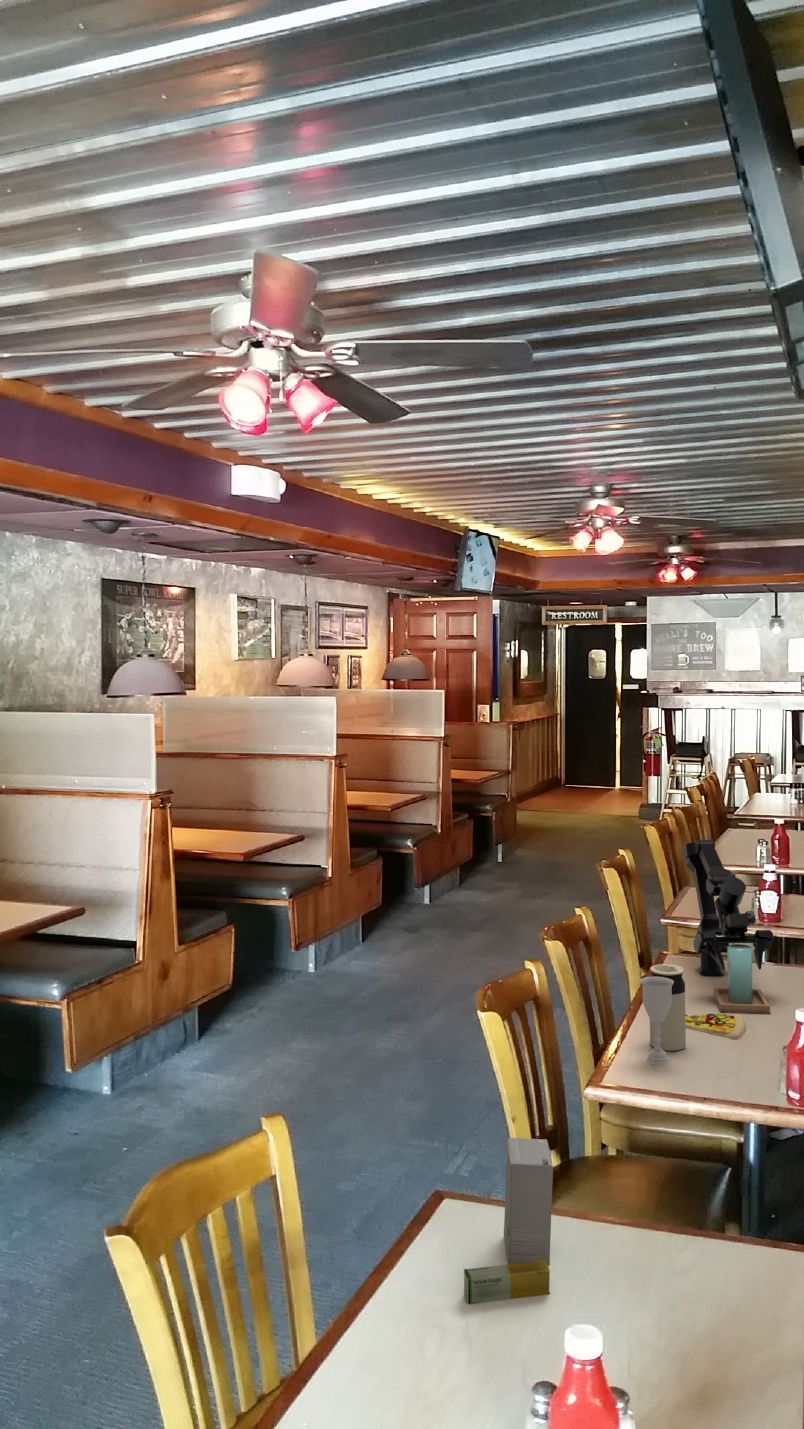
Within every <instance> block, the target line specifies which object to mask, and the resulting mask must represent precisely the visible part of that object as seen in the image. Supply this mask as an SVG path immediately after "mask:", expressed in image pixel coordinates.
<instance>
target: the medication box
mask: <svg viewBox="0 0 804 1429" xmlns="http://www.w3.org/2000/svg"><path fill="white" fill-rule="evenodd" d="M550 1294H551V1292H550V1268H549V1265H547V1264H546V1262H545V1261H544V1260H542V1261H533V1262H524V1263H515V1264H508V1263H507V1264H499V1265H490V1266H481V1267H474V1268H473V1267H472V1268H471V1267H470V1268H463V1296H464V1302H466V1304H467V1305H468V1306H470V1305H475V1304H477V1305H478V1304H484V1303H485V1304H486V1303H492V1302H501V1301H508V1300H516V1299H524V1298H531V1297H539V1296H547V1295H548V1296H549V1295H550Z"/></svg>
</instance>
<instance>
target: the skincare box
mask: <svg viewBox="0 0 804 1429" xmlns="http://www.w3.org/2000/svg"><path fill="white" fill-rule="evenodd" d="M506 1140H507V1141H506V1144H507V1145H506V1167H505V1168H506V1169H505V1194H504V1195H505V1196H504V1197H505V1198H504V1218H503V1219H504V1221H503V1223H504V1224H503V1244H504V1250H505V1251H504V1252H505V1257H506V1262H507V1264H515V1263H524V1262H533V1261H542V1260H544V1261H545V1262H546V1264H547V1266H550V1264H551V1263H550V1261H551V1257H550V1256H551V1233H552V1232H551V1231H552V1230H551V1229H552V1204H553V1182H554V1181H553V1180H554V1179H553V1178H554V1165H553V1161H552V1157H551V1155H552V1151H551V1149H550V1146H549V1143H548V1142H549V1141H548V1140H547V1139H546V1138H544V1139H543V1138H542V1139H540V1138H524V1137H523V1138H522V1137H521V1138H520V1137H509V1138H507V1139H506Z"/></svg>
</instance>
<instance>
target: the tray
mask: <svg viewBox="0 0 804 1429" xmlns="http://www.w3.org/2000/svg"><path fill="white" fill-rule="evenodd" d="M712 991H713V992H712V995H713V998H714V1001H715V1003H716V1005H718V1006H717V1008H718V1010H719V1012H720V1014H721V1013H722V1014H723V1013H724V1014H755V1015H758V1014H759V1015H770V1014H771V1005H770V1004H769V1001H768V1000H767V999H766V998H767V997H766V996H765V995H764V993H763V991H762V990H761V989H760V988H753V1003H751V1004H733V1003H730V1002H729V1001H728V987H712Z"/></svg>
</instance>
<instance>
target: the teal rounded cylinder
mask: <svg viewBox="0 0 804 1429" xmlns="http://www.w3.org/2000/svg"><path fill="white" fill-rule="evenodd" d="M726 955H727V986H728V987H727V988H728V1001H729V1002H730V1003H733V1004H751V1003H753V989H754V987H753V947H752V946H750V945H747V944H743V943H732V944H729V946H727V953H726Z"/></svg>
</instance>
